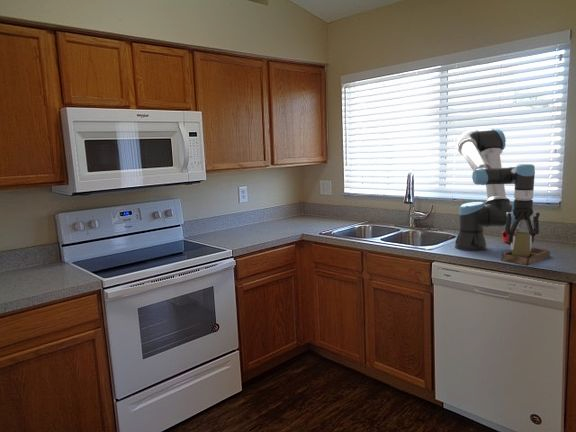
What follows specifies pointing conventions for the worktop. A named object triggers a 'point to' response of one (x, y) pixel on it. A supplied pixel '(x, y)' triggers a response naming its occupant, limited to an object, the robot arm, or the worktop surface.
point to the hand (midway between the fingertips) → (520, 249)
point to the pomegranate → (505, 237)
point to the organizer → (534, 257)
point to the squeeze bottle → (521, 241)
